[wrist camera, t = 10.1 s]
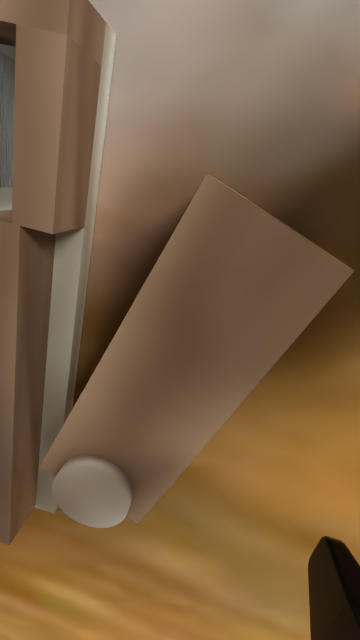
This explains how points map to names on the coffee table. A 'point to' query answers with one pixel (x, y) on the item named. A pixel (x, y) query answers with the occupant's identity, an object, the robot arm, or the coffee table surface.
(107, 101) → the jig
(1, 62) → the white rectangular block
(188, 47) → the coffee table surface
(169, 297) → the long tan block
